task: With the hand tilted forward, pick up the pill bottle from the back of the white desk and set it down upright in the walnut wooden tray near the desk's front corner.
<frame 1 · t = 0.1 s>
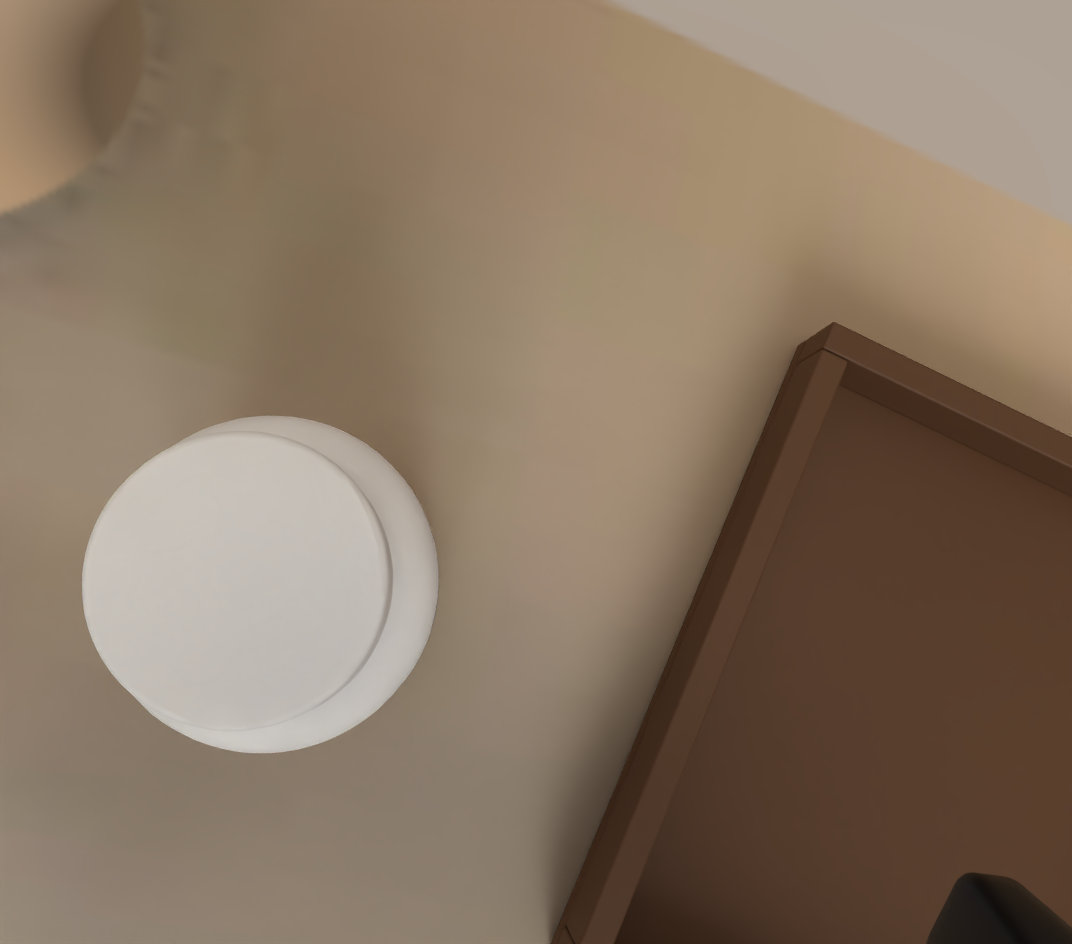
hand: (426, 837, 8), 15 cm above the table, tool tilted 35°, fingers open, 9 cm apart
tray: (930, 744, 24), on the table
pill bottle: (313, 587, 23), on the table
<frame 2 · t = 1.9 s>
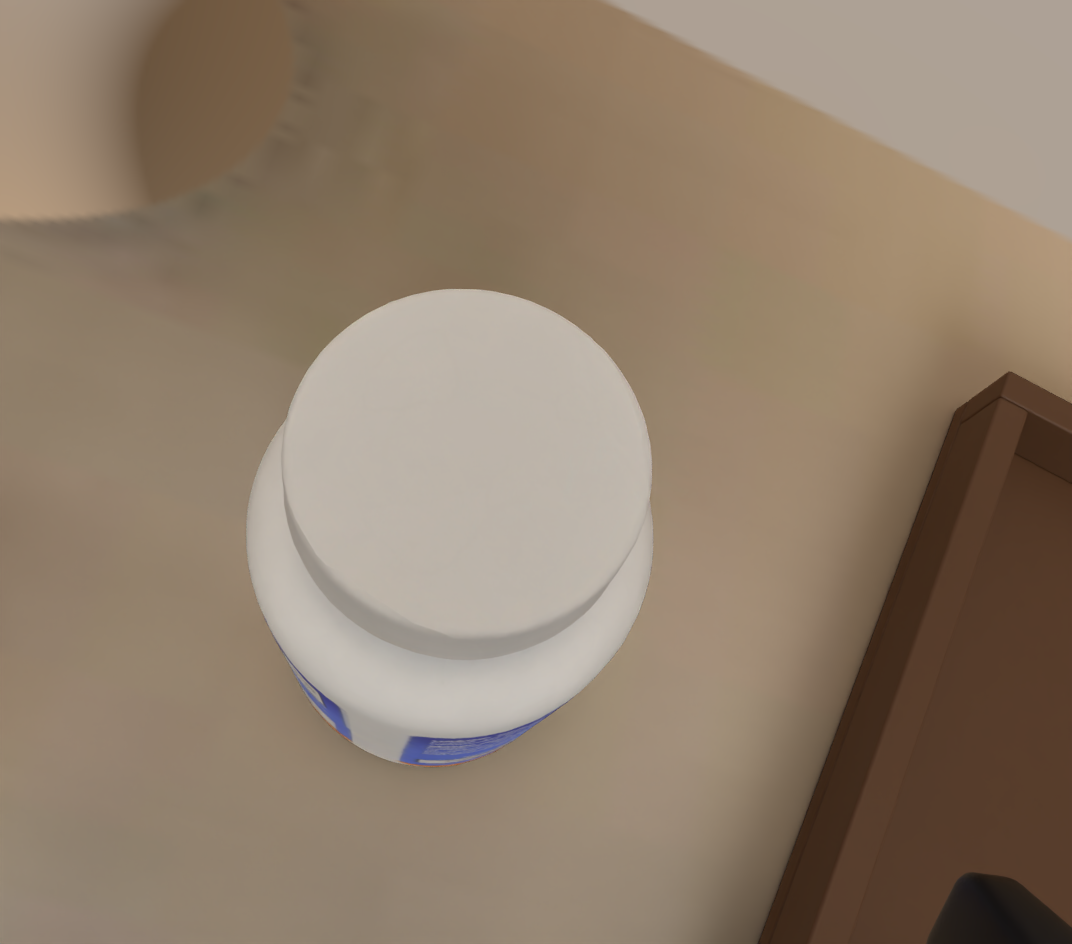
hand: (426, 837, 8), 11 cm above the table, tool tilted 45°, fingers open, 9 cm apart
pill bottle: (428, 628, 20), on the table
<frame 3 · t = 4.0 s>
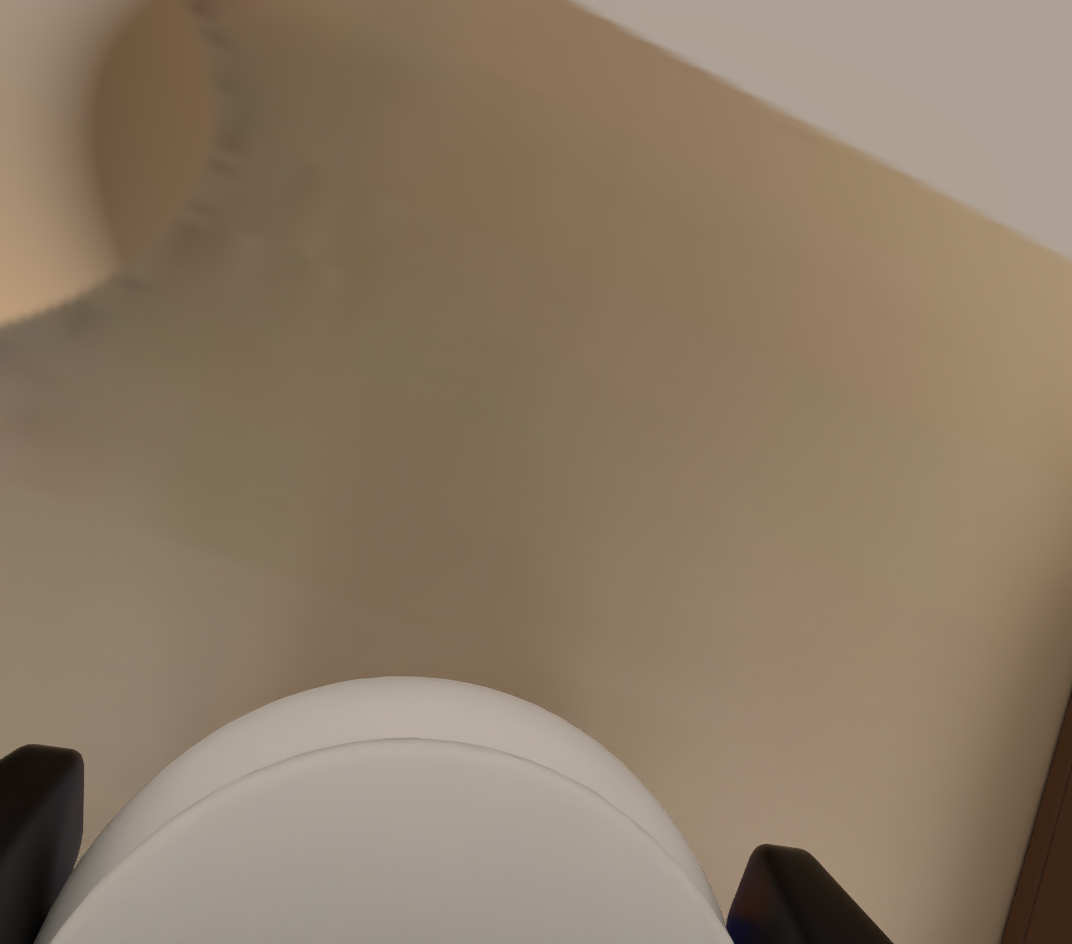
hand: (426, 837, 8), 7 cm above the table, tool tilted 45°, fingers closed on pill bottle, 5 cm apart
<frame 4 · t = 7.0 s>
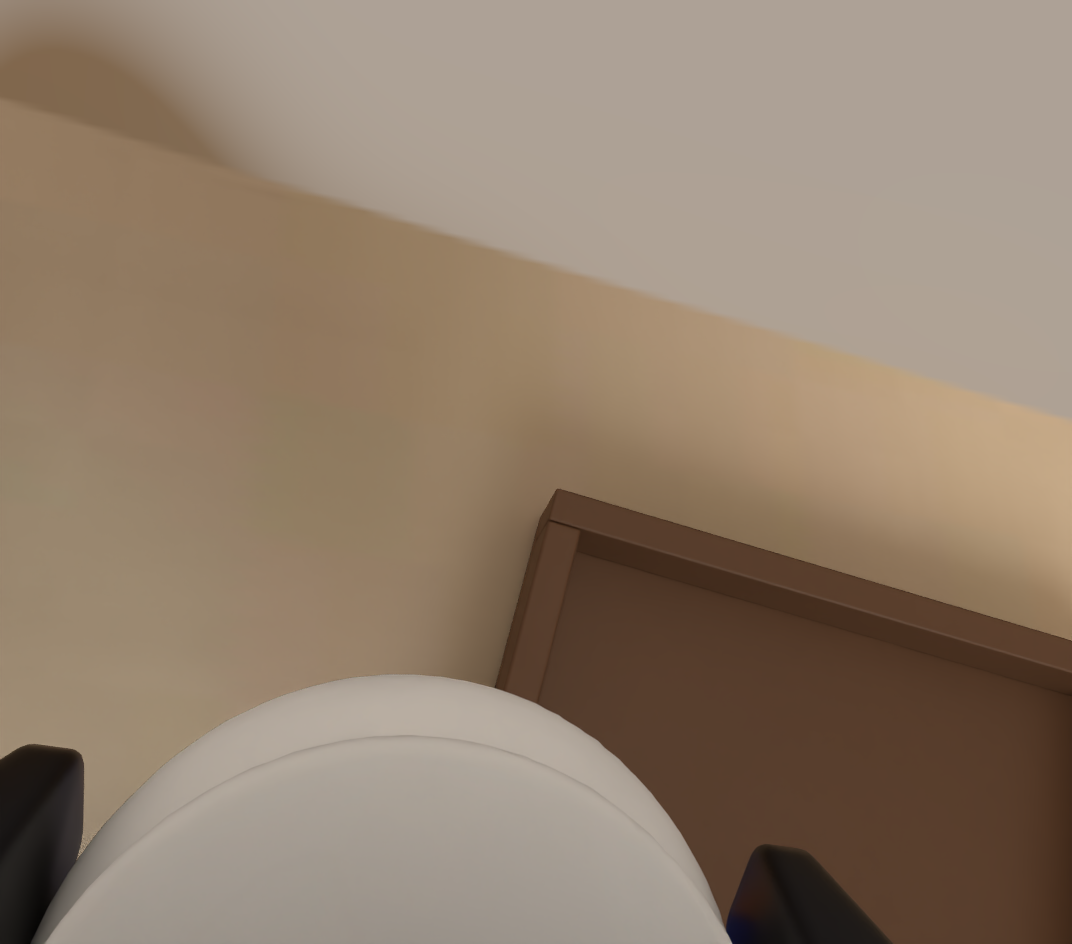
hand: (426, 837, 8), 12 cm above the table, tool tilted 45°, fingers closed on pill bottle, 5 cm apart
pill bottle: (382, 942, 14), point 5 cm above the table, touching gripper
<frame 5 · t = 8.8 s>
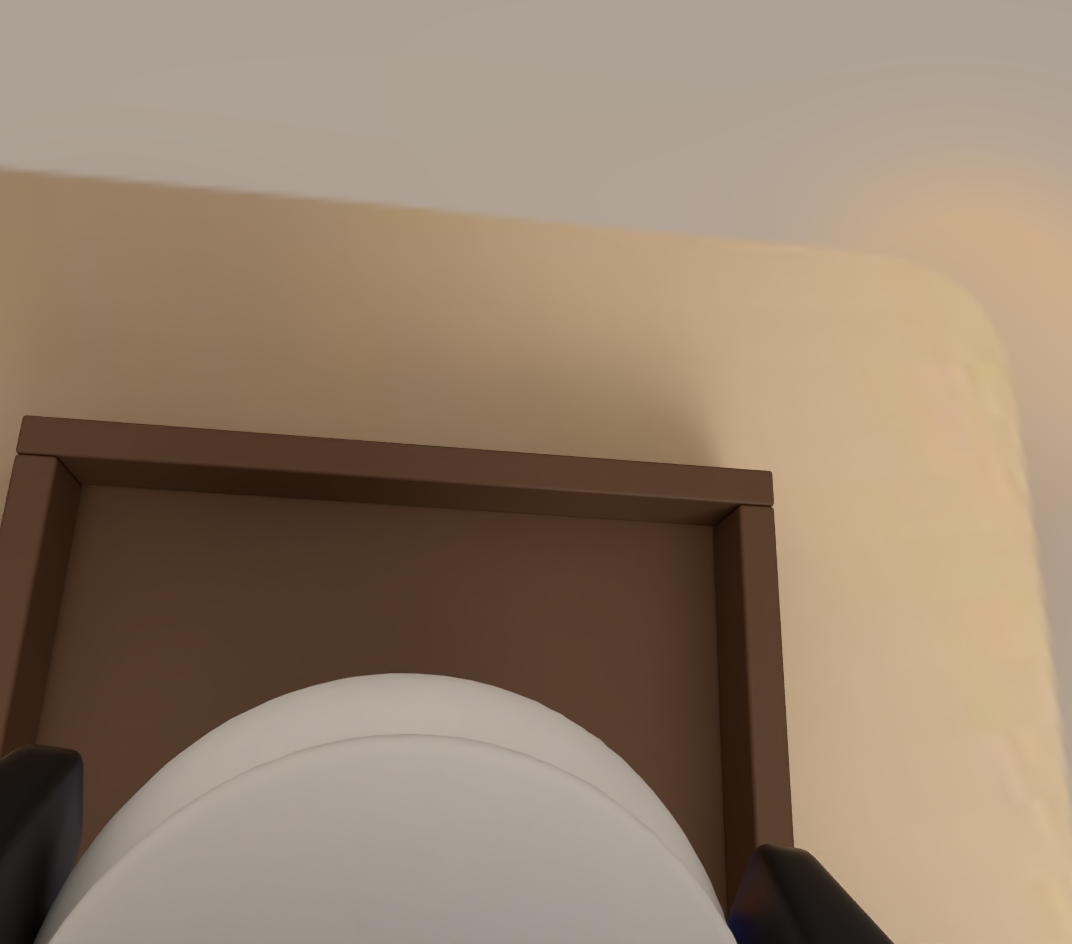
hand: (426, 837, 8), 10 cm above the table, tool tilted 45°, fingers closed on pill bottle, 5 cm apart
tray: (384, 899, 17), on the table
pill bottle: (383, 942, 14), point 4 cm above the table, touching gripper
when the fingers open (7 cm above the table, at t = 10.2 s): pill bottle stays where it is, resting on tray.
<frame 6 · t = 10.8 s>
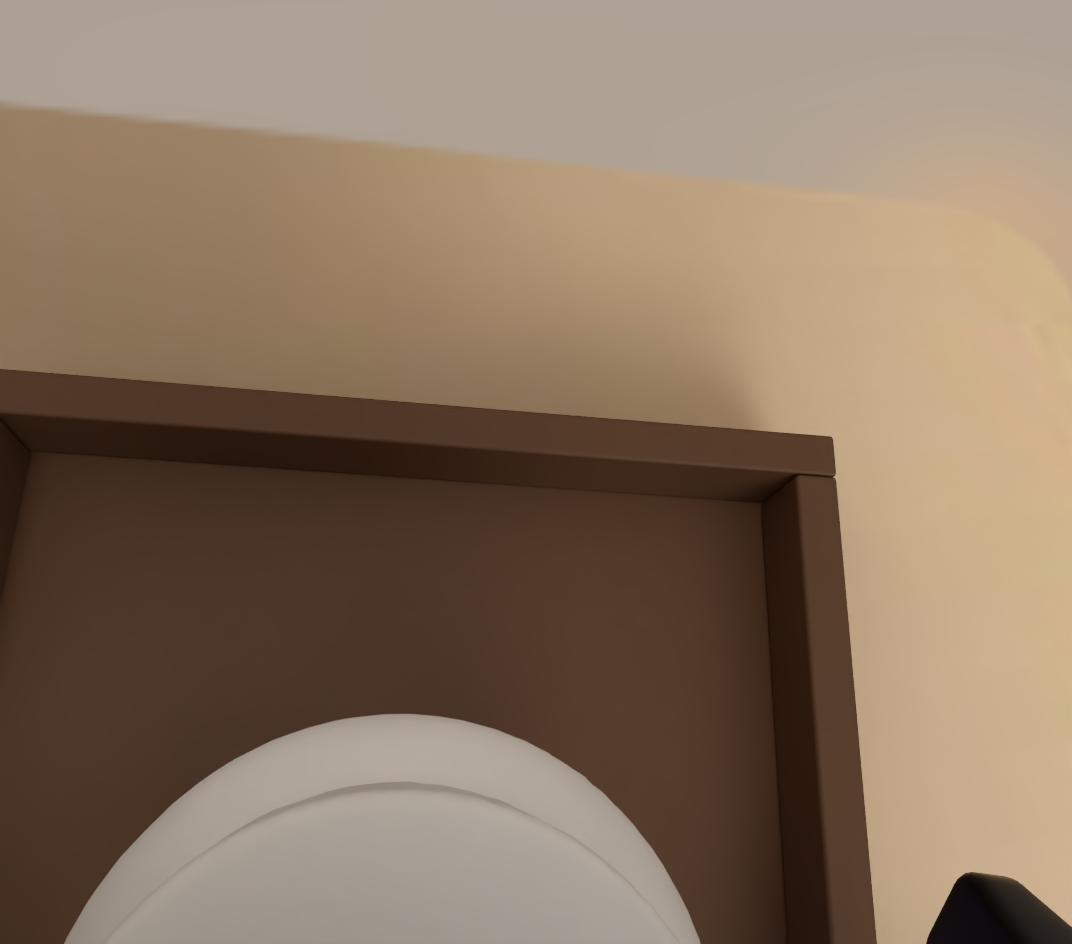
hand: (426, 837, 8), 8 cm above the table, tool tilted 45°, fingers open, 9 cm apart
tray: (383, 939, 15), on the table
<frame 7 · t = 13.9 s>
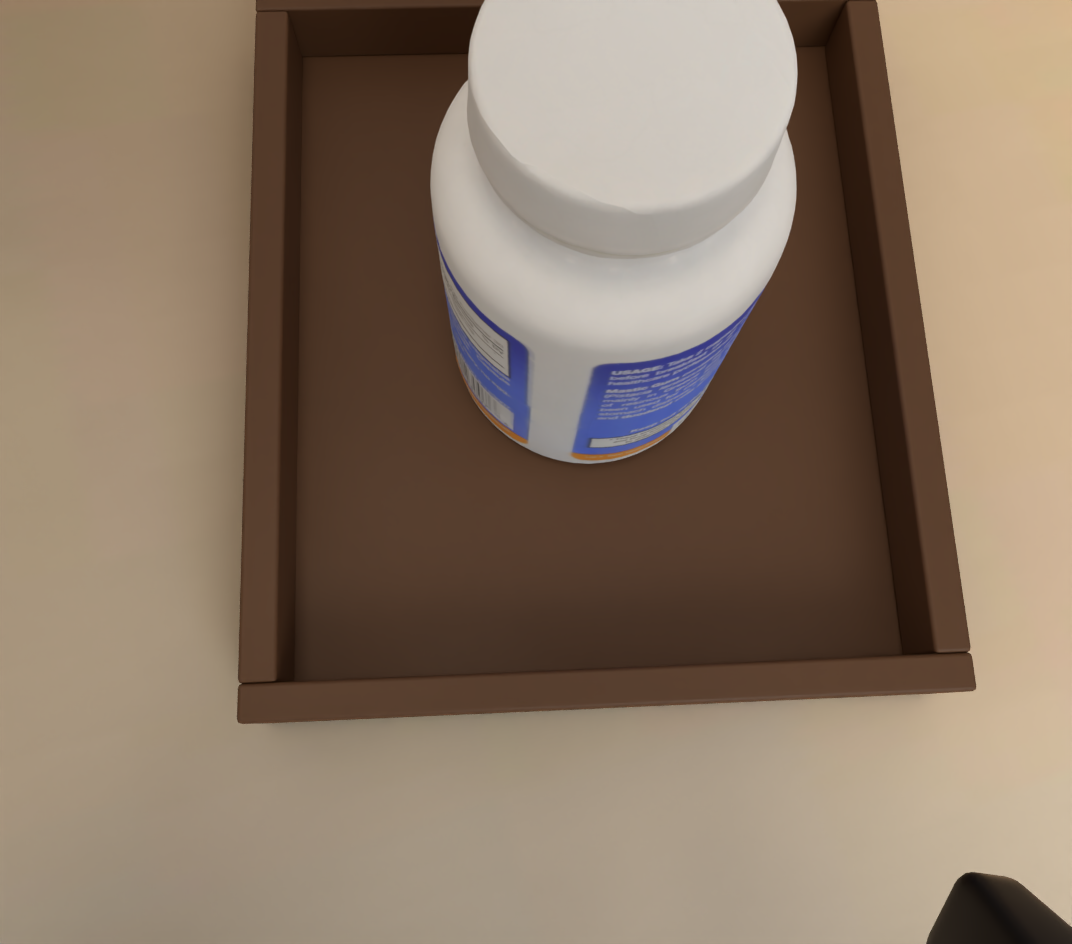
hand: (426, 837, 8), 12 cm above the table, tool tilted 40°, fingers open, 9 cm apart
tray: (580, 346, 22), on the table
pill bottle: (581, 350, 21), resting on tray
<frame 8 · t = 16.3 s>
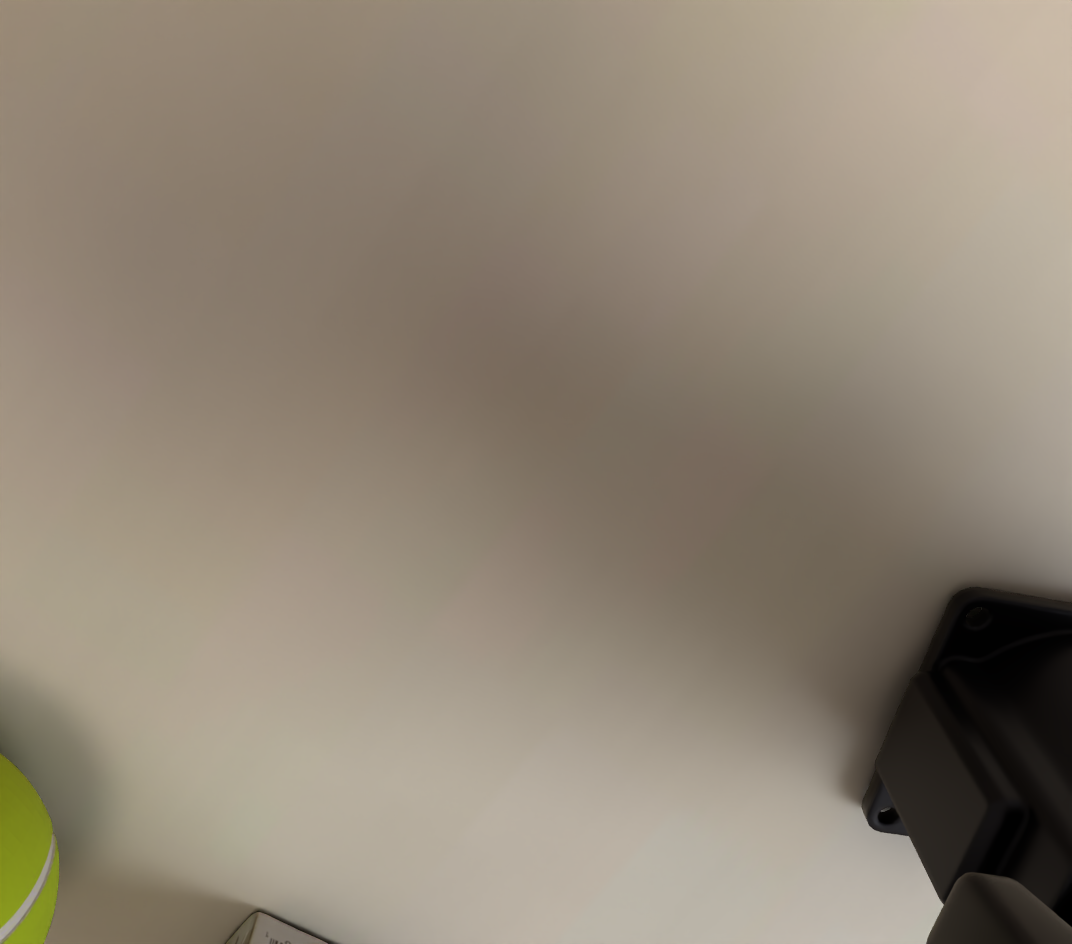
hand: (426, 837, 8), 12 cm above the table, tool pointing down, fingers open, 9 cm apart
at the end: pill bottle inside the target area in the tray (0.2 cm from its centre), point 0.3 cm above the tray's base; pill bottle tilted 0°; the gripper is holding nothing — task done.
